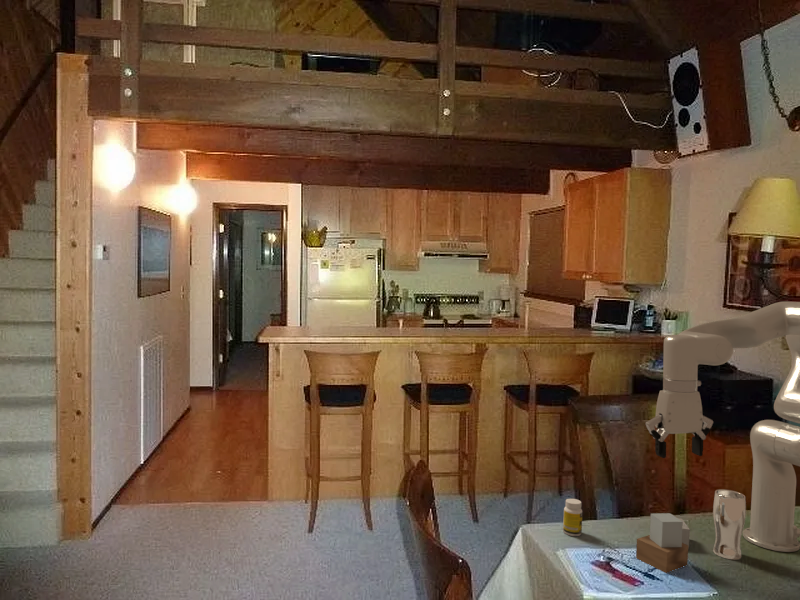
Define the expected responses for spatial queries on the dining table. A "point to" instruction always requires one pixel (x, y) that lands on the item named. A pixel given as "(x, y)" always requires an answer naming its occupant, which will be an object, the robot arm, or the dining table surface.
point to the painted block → (666, 530)
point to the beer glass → (728, 523)
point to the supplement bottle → (572, 517)
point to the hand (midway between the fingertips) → (679, 455)
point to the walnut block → (661, 555)
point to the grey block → (685, 533)
